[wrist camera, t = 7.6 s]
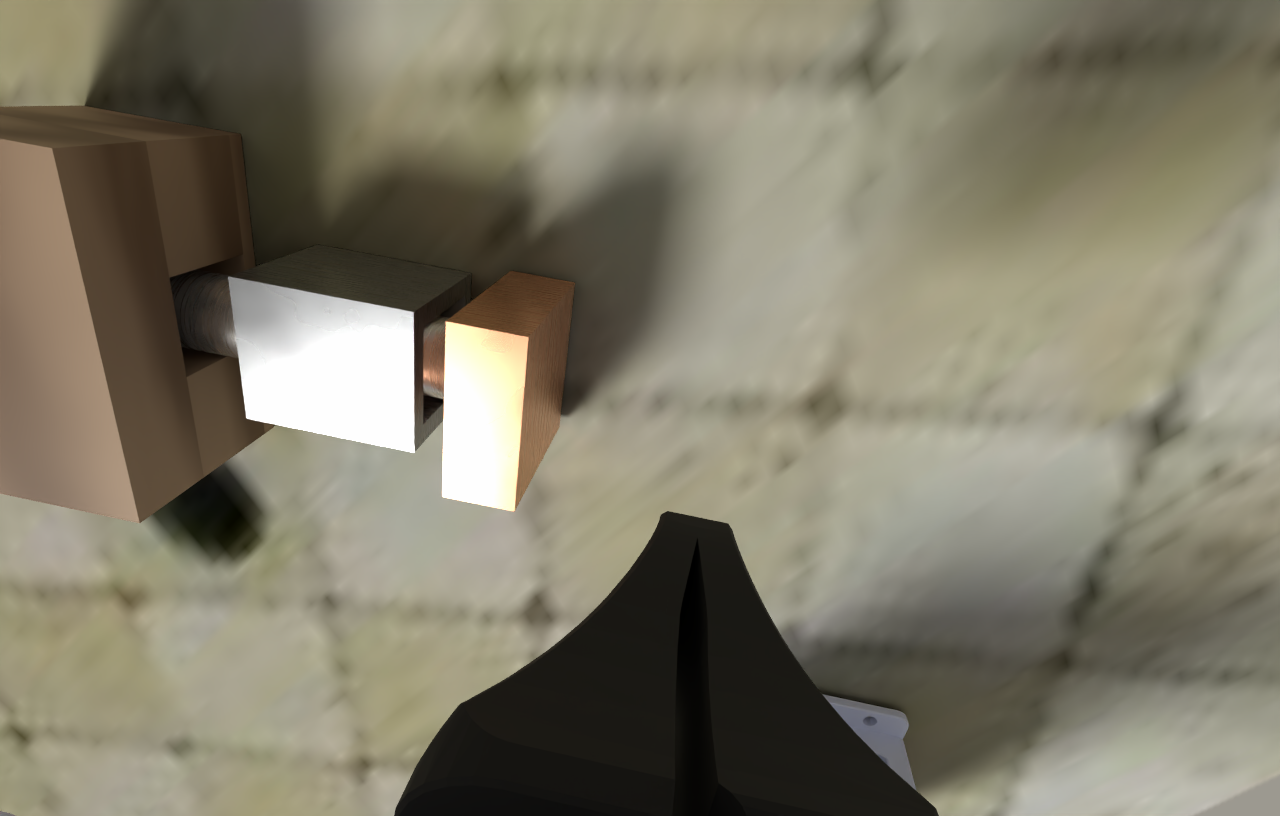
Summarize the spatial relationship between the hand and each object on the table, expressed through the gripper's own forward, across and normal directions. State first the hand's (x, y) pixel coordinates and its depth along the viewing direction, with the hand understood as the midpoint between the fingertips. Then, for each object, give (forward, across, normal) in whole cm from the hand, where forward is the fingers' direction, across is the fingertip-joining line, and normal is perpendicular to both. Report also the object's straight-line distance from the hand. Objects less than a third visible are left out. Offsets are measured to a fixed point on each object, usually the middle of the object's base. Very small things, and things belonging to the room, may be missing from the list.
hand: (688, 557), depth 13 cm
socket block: (+9, +18, 0) cm, 20 cm away
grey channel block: (+9, +10, 0) cm, 14 cm away
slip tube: (+8, +12, 0) cm, 15 cm away
